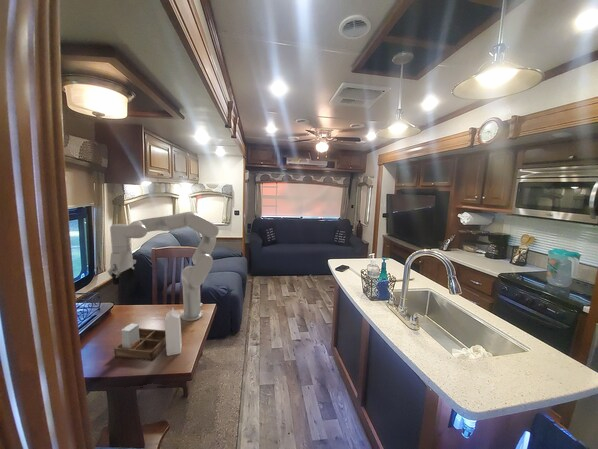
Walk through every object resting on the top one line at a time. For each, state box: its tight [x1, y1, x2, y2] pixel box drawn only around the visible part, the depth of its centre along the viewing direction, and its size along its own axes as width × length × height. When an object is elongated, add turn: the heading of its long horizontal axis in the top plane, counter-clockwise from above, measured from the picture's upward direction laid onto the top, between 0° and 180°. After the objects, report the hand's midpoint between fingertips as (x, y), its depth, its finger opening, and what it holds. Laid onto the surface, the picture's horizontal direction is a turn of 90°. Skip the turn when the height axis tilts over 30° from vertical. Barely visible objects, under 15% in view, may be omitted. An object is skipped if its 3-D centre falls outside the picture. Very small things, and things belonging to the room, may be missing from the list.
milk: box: [164, 307, 183, 356], centre depth 121 cm, size 6×6×22 cm
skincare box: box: [120, 323, 140, 349], centre depth 120 cm, size 6×4×12 cm
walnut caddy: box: [113, 327, 166, 362], centre depth 124 cm, size 16×18×4 cm
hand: (124, 280), depth 129 cm, fingers open, 9 cm apart
